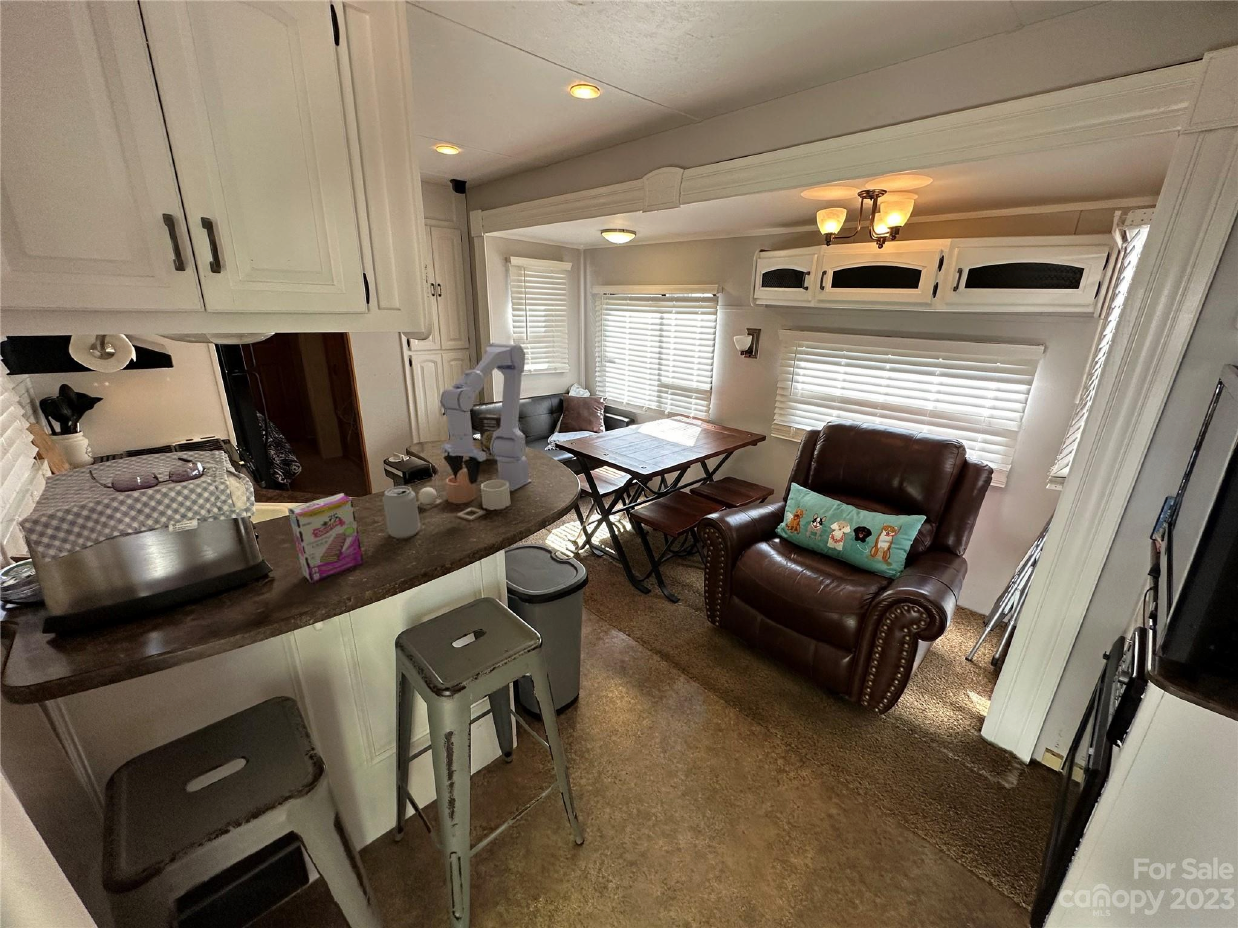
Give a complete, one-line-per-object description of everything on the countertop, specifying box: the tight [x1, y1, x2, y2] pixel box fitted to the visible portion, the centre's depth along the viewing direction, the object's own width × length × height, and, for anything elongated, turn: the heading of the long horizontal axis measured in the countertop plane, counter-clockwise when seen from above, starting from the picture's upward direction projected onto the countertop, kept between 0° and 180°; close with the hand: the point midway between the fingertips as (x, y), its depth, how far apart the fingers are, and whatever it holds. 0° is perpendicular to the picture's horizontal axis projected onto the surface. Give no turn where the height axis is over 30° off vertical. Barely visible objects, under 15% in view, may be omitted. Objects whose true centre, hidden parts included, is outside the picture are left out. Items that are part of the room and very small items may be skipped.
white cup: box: [480, 479, 512, 511], centre depth 139 cm, size 8×8×6 cm
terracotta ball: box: [456, 468, 473, 487], centre depth 131 cm, size 5×5×5 cm
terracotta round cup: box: [445, 475, 476, 504], centre depth 143 cm, size 8×8×6 cm
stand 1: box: [416, 498, 444, 510], centre depth 139 cm, size 5×5×1 cm
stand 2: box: [456, 507, 486, 522], centre depth 133 cm, size 5×5×1 cm
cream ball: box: [418, 487, 438, 505], centre depth 138 cm, size 5×5×5 cm
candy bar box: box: [287, 492, 364, 584], centre depth 104 cm, size 11×5×16 cm, turn 140°
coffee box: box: [477, 412, 510, 460], centre depth 176 cm, size 9×6×16 cm
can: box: [382, 485, 421, 539], centre depth 121 cm, size 8×8×12 cm
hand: (466, 480), depth 131 cm, fingers closed on terracotta ball, 5 cm apart
